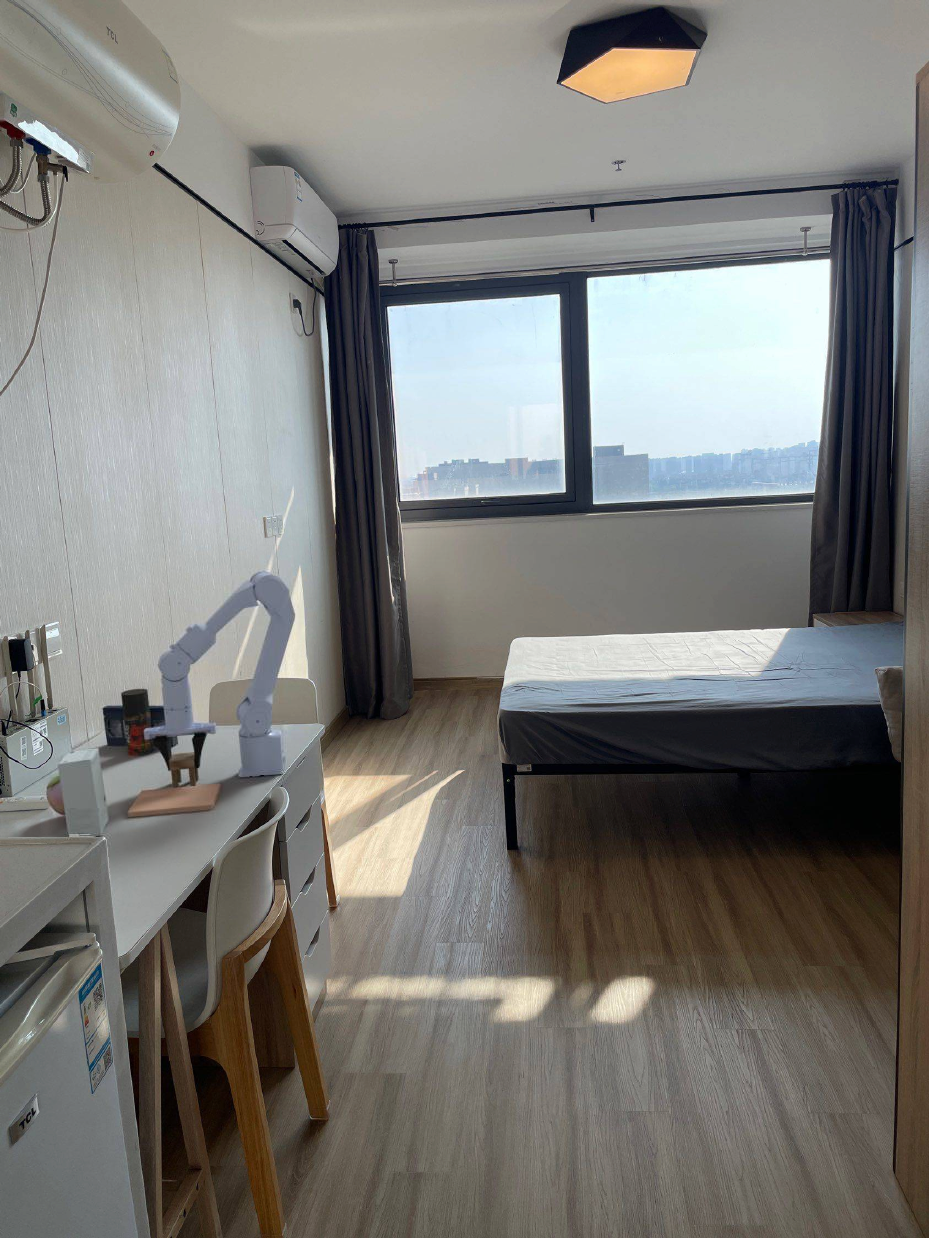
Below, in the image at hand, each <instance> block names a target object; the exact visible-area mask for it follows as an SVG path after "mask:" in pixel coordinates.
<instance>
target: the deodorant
mask: <svg viewBox="0 0 929 1238" xmlns="http://www.w3.org/2000/svg"><path fill="white" fill-rule="evenodd" d="M120 695H121V697H120V698H121V706H123V714H124V723H125V732H126V740H127V746H126V747H127V754H128V756H130V757H139V756H141V757H142V756H145V755H149V754H152V753H153V752H154V751H155V747H154V745H153V738H150V739H147V740H145V737H144V730H145V729H146V728H152V727H151V718H150V708H149V706H150V701H149V692H148V689H146V688H133V689H128V690H124V691H122V692H120Z"/></svg>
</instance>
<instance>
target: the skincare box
mask: <svg viewBox="0 0 929 1238" xmlns="http://www.w3.org/2000/svg"><path fill="white" fill-rule="evenodd" d="M57 768H58V776H60V783H61V790H62V796H63V803H64V810H65V816H64V817H65V821H66V828H67V834H68V833H69V834H90V835H79V836H100V837H102V836H103V832H104V829H105V828H106V826H107V825H108V823H109V819H110V818H109V813H108V805H107V798H106V791H105V785H104V778H103V771H102V765H101V758H100V751H99V748H90V749H82V750H76V751H68V752H67V753H66V754H65V756H63V757H62V758H61V761H59V763H58V764H57ZM101 834H102V835H101Z"/></svg>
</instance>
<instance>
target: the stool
mask: <svg viewBox="0 0 929 1238" xmlns="http://www.w3.org/2000/svg"><path fill="white" fill-rule="evenodd" d="M169 767H170V770H171V771H170V772H171V773H170V774H171V784H172V788H176V787H180V785H179V783H182V779H183V778H182V772H181V771H182V770H188V775H189V776H188V777H189V784H190V785H189V786H197V781H199V780H200V779H199V768H197V769H196V768H195V755H194V751H193V752H182V753H180V752H179V753H172V757H171V759H170V760H169Z"/></svg>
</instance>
